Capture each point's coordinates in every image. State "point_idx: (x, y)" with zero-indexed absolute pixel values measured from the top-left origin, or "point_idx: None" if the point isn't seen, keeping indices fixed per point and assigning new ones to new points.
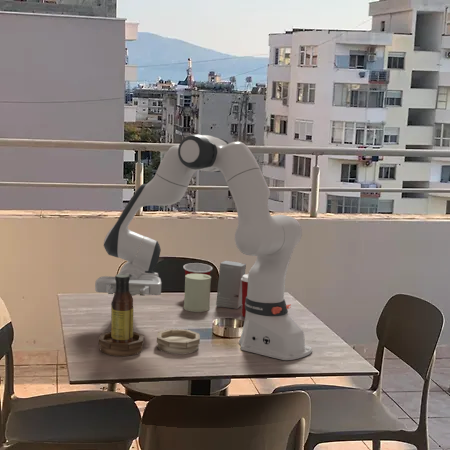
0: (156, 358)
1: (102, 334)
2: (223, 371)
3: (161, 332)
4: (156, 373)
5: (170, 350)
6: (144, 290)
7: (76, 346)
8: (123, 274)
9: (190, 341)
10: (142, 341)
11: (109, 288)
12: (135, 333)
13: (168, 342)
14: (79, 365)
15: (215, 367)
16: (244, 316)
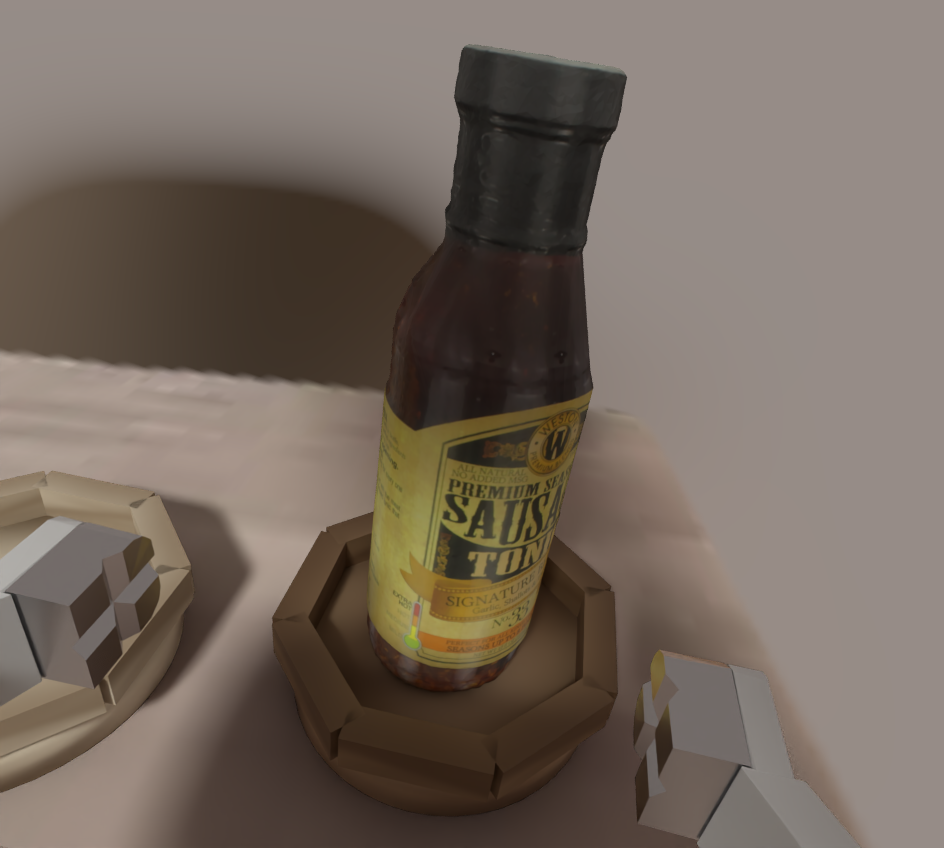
0: (271, 513)
1: (602, 680)
2: (56, 377)
3: None
4: (338, 404)
5: None
6: (63, 517)
7: None
8: (534, 54)
9: (6, 482)
10: (321, 535)
11: (739, 668)
12: (323, 671)
13: (160, 498)
14: (655, 502)
15: (54, 403)
16: None
